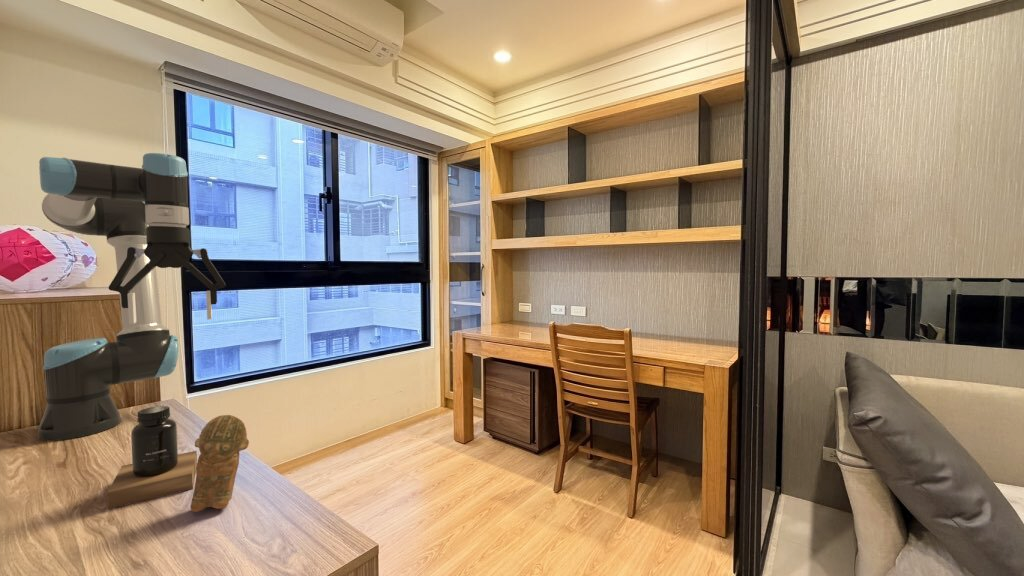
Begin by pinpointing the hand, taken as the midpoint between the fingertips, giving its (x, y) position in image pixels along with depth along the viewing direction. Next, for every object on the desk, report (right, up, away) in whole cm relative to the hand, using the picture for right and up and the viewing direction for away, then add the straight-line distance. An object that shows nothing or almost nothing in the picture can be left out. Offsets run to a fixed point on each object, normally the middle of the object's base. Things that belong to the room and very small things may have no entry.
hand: (172, 320), depth 95 cm
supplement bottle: (+7, -29, -12) cm, 32 cm away
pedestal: (+7, -31, -12) cm, 34 cm away
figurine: (+24, -32, -19) cm, 44 cm away
